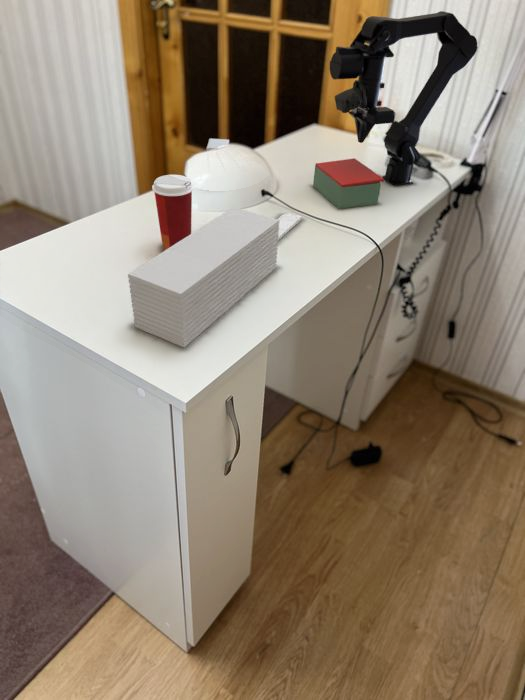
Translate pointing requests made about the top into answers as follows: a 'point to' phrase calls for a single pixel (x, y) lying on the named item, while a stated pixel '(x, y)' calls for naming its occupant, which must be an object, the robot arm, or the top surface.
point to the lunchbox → (346, 191)
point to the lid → (349, 172)
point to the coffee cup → (173, 207)
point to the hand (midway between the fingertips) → (360, 142)
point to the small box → (216, 143)
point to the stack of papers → (203, 275)
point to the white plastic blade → (287, 223)
